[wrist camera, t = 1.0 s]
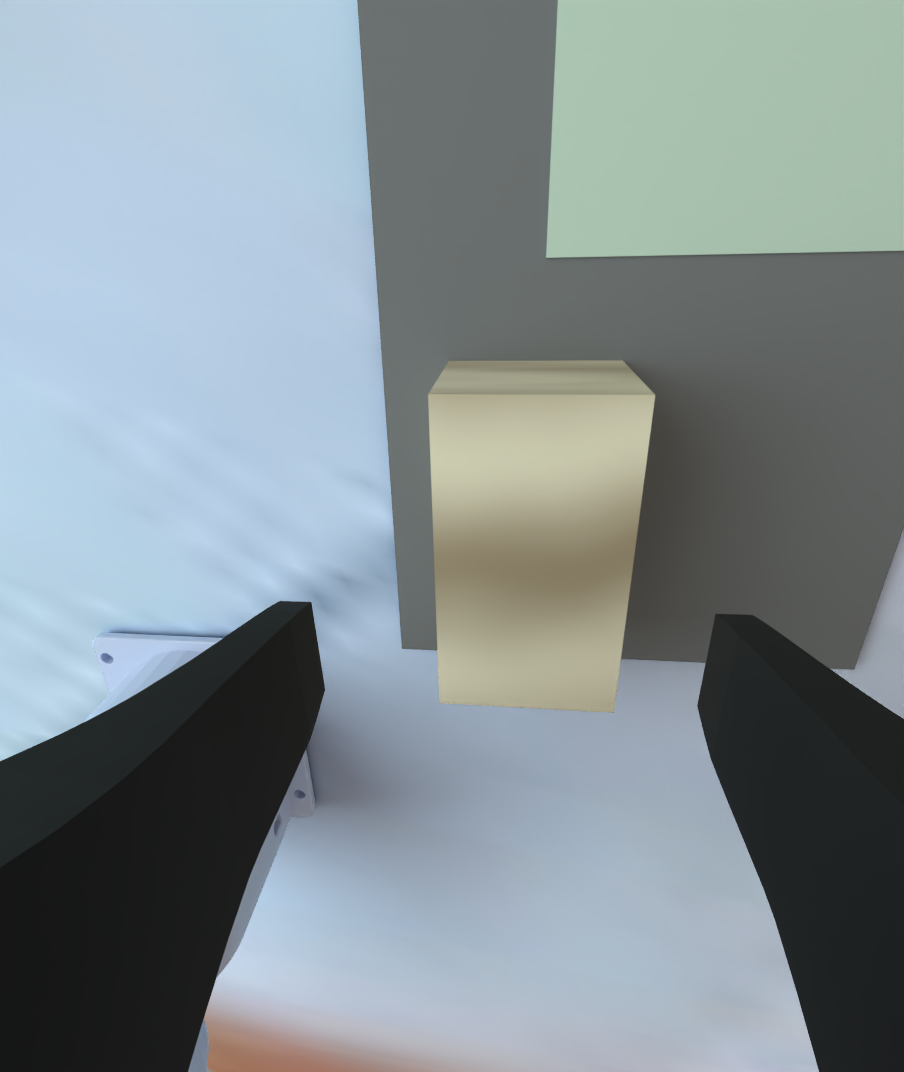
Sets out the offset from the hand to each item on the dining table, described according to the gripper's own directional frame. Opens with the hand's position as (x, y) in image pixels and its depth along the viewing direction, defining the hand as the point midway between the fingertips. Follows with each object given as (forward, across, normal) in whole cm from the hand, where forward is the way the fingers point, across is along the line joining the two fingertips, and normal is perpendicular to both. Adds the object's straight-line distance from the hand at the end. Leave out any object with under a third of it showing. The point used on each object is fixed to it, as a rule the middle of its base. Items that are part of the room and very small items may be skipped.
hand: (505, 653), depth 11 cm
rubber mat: (+9, -4, -3) cm, 11 cm away
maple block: (+9, -1, +1) cm, 9 cm away
